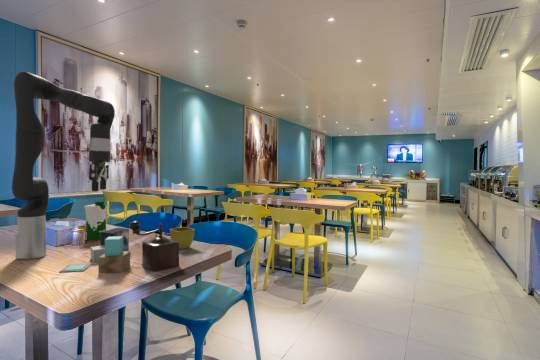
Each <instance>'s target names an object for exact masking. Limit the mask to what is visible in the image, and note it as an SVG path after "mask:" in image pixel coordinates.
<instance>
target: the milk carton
mask: <svg viewBox="0 0 540 360" xmlns="http://www.w3.org/2000/svg"><path fill="white" fill-rule="evenodd" d="M83 207H84V211H85V233H86V232H87V240H86V241H101V232H102V231H107V210H108V209H107V208H108V204H105V201H104V200H95V202H94V204H88V205H83Z"/></svg>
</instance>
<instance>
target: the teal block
mask: <svg viewBox="0 0 540 360" xmlns="http://www.w3.org/2000/svg"><path fill="white" fill-rule="evenodd" d="M122 252H123V236H113V237H108V238H106V239H105V256H118V255H121V254H122Z"/></svg>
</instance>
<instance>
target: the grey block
mask: <svg viewBox="0 0 540 360" xmlns="http://www.w3.org/2000/svg"><path fill="white" fill-rule="evenodd" d="M103 254H105V246H104V245H103V246H101V245H97V246H95V245H94V246H90V260H91V261H92V262H93V263H98V257H100V256H102V255H103Z"/></svg>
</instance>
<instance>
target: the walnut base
mask: <svg viewBox="0 0 540 360" xmlns="http://www.w3.org/2000/svg"><path fill="white" fill-rule="evenodd" d="M97 263H98V264H97V265H98V271H97V272H98V274H99V275H100V273H101V274H102V273H106V274H122V273H124V272H125V271H127V269H129V268H130V267H131V251H130V250H129V251H123V252H122V254H121V255H118V256H105V254H103V255H102V256H100V257H98V262H97Z"/></svg>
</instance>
